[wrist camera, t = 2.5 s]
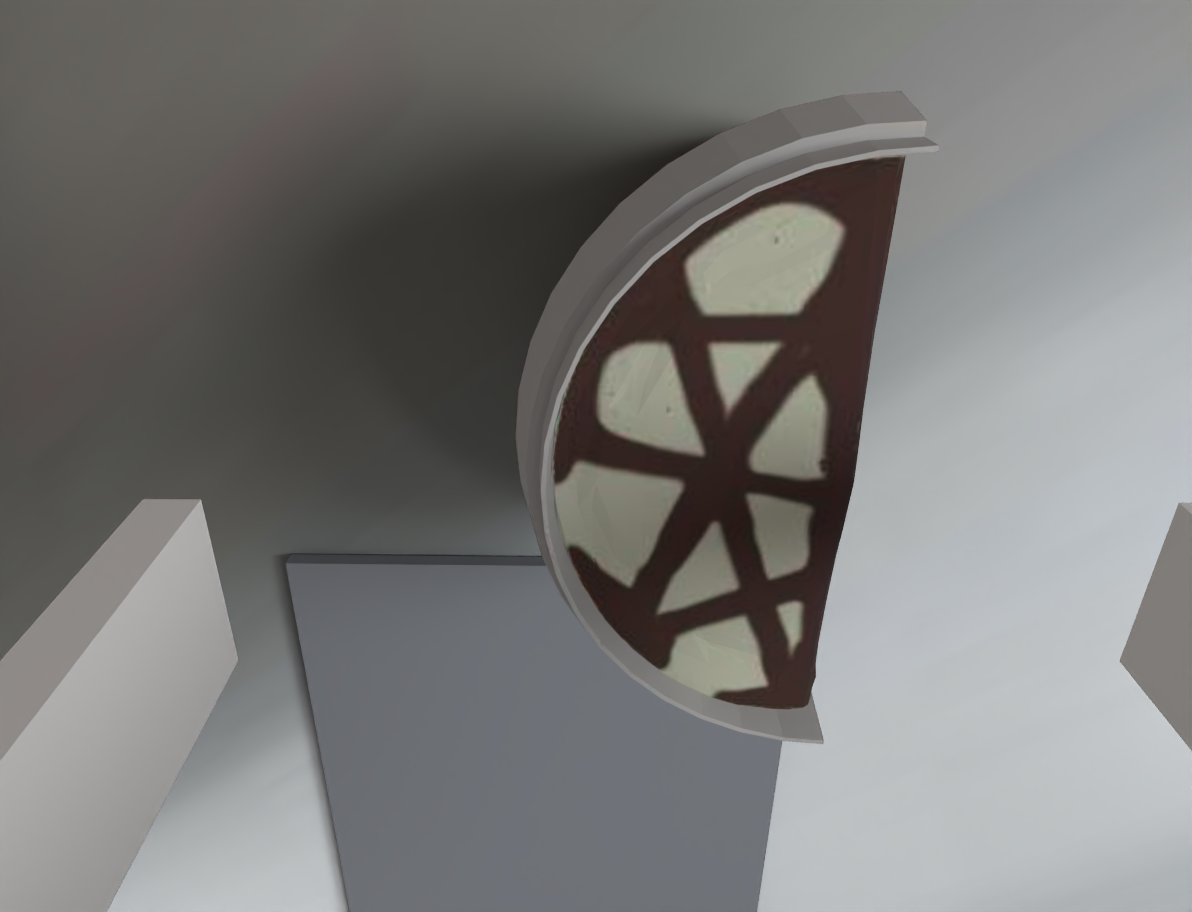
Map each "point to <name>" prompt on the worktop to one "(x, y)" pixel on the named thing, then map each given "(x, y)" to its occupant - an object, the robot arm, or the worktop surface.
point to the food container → (717, 405)
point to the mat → (513, 750)
